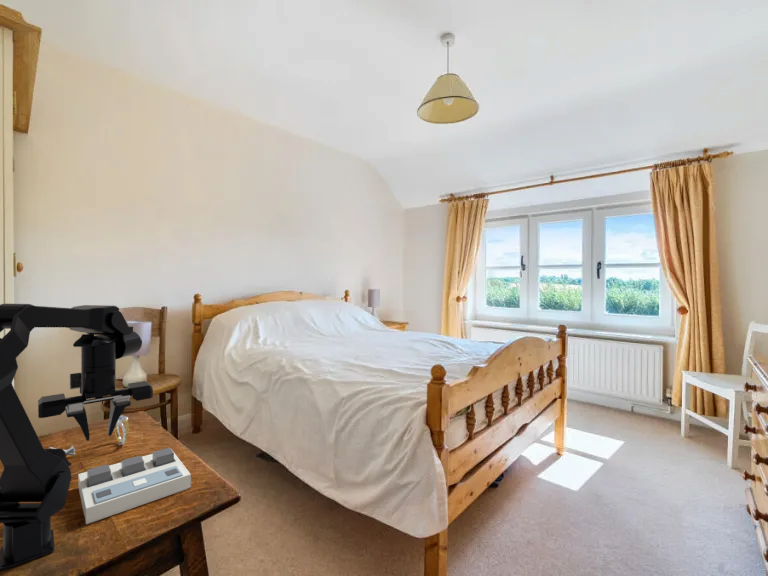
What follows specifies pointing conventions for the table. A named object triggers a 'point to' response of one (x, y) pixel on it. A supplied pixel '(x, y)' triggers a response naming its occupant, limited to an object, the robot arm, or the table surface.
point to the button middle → (132, 466)
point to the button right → (163, 457)
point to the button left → (98, 475)
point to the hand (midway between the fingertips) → (98, 437)
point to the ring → (116, 429)
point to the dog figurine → (69, 451)
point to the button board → (131, 488)
